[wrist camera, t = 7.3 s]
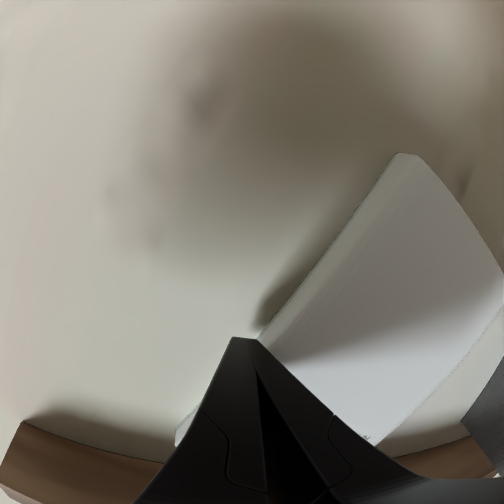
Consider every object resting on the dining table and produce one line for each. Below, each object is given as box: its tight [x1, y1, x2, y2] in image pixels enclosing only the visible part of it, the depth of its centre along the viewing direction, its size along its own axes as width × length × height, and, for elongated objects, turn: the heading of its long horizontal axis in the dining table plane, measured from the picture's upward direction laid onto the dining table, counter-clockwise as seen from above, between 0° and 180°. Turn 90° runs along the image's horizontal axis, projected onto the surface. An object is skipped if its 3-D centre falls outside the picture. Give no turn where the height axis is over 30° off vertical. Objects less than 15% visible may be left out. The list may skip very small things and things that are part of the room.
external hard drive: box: [175, 152, 504, 447], centre depth 10 cm, size 2×8×12 cm
